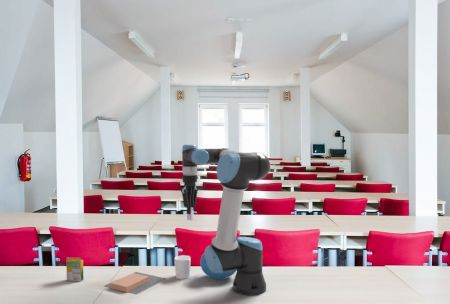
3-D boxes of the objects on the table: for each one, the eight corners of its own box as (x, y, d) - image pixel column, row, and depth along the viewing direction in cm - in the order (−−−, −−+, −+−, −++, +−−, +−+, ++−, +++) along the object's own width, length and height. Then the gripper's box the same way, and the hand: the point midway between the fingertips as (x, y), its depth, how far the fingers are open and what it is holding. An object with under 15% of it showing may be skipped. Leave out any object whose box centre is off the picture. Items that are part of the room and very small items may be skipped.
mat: (167, 279, 193) (167, 278, 193) (136, 295, 174) (136, 294, 174) (135, 272, 203) (135, 271, 203) (103, 287, 183) (103, 286, 183)
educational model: (238, 283, 187) (238, 252, 187) (199, 283, 188) (198, 252, 187) (238, 272, 203) (238, 243, 202) (201, 272, 203) (201, 243, 203)
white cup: (183, 281, 190) (183, 261, 190) (171, 278, 195) (171, 258, 194) (194, 277, 196) (194, 257, 196) (182, 273, 201) (182, 254, 201)
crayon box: (83, 279, 194) (83, 255, 194) (80, 281, 191) (80, 257, 191) (69, 278, 195) (69, 255, 194) (66, 281, 192) (66, 257, 191)
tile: (149, 276, 189) (126, 287, 176) (149, 281, 189) (126, 292, 176) (133, 273, 194) (110, 282, 181) (133, 278, 194) (110, 288, 181)
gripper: (190, 173, 212) (191, 216, 213) (176, 175, 201) (176, 221, 202) (202, 173, 208) (203, 218, 209) (188, 176, 197) (188, 223, 198)
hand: (190, 219), depth 206 cm, fingers closed
